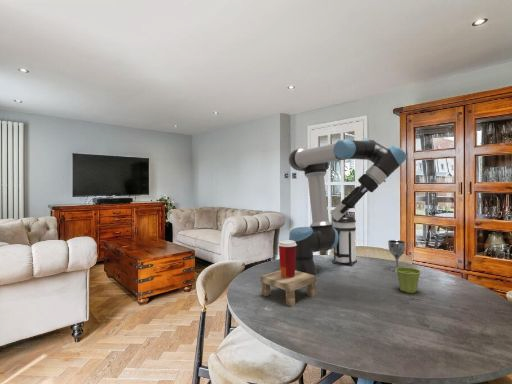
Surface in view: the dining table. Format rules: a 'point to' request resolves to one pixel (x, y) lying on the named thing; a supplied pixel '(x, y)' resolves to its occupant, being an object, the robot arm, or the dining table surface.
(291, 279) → the wooden step stool
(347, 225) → the coffee press
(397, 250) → the wine glass
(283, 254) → the paper cup
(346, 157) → the robot arm
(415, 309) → the dining table surface
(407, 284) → the plant pot
